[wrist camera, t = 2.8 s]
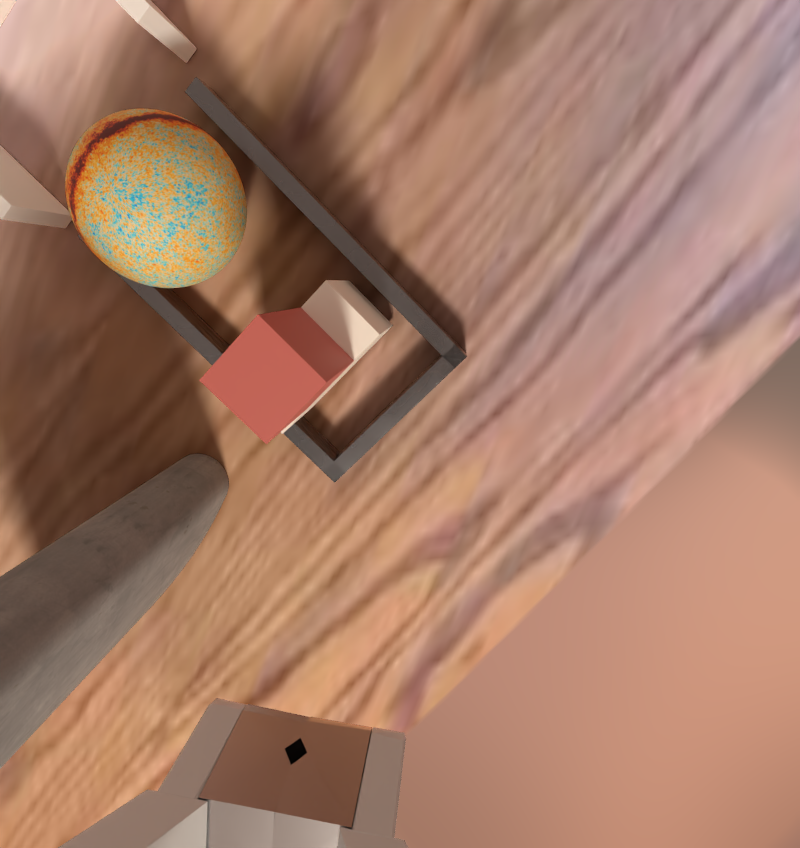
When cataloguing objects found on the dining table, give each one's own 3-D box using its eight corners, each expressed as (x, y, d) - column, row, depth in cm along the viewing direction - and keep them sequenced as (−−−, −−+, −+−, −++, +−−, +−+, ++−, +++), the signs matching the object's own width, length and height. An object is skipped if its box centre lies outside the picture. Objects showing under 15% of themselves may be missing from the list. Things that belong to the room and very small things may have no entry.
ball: (298, 222, 26) (243, 202, 19) (198, 316, 28) (117, 327, 21) (198, 99, 25) (105, 34, 19) (102, 204, 27) (-16, 178, 20)
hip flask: (193, 442, 30) (-289, 739, 10) (252, 488, 30) (-108, 858, 11) (55, 627, 34) (-479, 1090, 14) (108, 667, 34) (-342, 1168, 15)
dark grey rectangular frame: (340, 472, 29) (334, 482, 28) (97, 238, 27) (77, 236, 26) (466, 352, 27) (466, 356, 26) (211, 88, 25) (196, 76, 24)
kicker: (311, 407, 28) (238, 473, 19) (269, 366, 28) (171, 411, 18) (393, 325, 27) (358, 349, 17) (349, 280, 26) (289, 279, 17)
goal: (65, 228, 27) (-18, 217, 23) (-71, 98, 26) (-188, 57, 22) (197, 48, 25) (134, -9, 20) (51, -104, 24) (-51, -201, 19)
